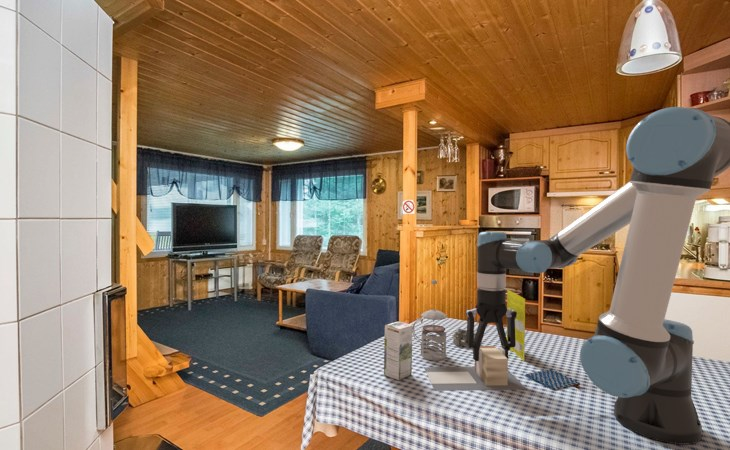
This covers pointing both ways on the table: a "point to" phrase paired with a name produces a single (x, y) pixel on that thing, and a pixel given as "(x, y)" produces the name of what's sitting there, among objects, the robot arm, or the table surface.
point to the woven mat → (552, 379)
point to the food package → (517, 321)
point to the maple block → (493, 366)
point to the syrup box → (398, 350)
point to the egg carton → (458, 335)
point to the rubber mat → (466, 380)
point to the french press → (433, 351)
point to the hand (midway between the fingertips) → (490, 371)
